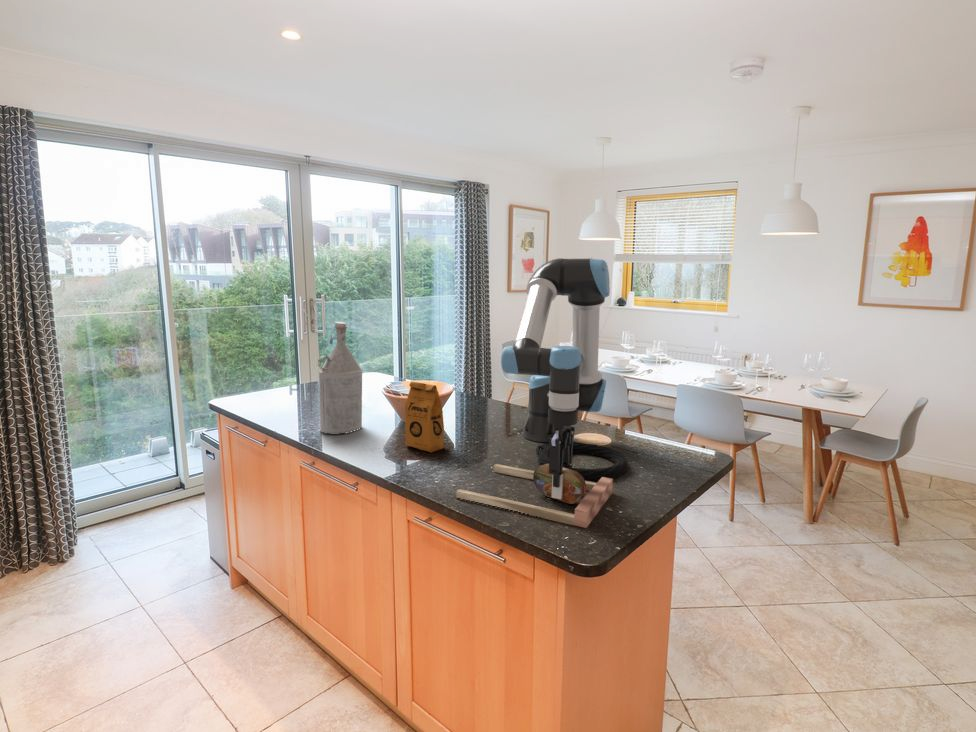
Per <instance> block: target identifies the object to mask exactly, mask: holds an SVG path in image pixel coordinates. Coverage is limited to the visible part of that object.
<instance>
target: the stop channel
mask: <svg viewBox="0 0 976 732" xmlns="http://www.w3.org/2000/svg"><path fill="white" fill-rule="evenodd" d="M534 471H535V470H531V469H525V468H520V467H516V466H510V465H504V464H499V463H496V464H494V465H493V473H499V474H502V475H509V476H512V477H519V478H522V479H527V480H533V475H534ZM585 482H586V491H589V492H588V493H587V494H585V496H584V497H583V498H582V499H581V500H580V501H579V503H578V505H577V506H576V507H575V508H574V513H571V512H566V511H562V510H558V509H557V510H556V509H552V508H547V507H543V506H540V505H539V506H537V505H534V504H529V503H525V502H521V501H516V500H512V499H508V498H507V499H506V498H504V497H502V498H501V497H497V496H493V495H489V494H485V493H479V492H475V491H470V490H467V489H462V488H459V489H457V490H456V497H457V498H461V499H460V500H462V499H466V500H470V501H469V502H471V501H475V502H479V503H484V504H489V505H492V506H497V507H501V508H505V509H509V510H508V511H510V510H513V511H512V512H514V511H518V512H521V513H520V514H523V513H525V514H524V515H527V514H529V515H528V516H532V517H536V516H537V518H540V517H541V519H545V520H550V521H553V522H557V523H563V524H567V525H571V526H577V527H580V528H584V529H587V528H588V527H589V525H590V524H591V523H592V521H593V520H594V519H595V517H596V515H598V513H599V511H601V509H602V508H603V506H604V505H605V503H606V502H607V501H608V499H609V498H610V497H611V496H612V494H613V487H614V486H613V484H614V478H606V477H602V478H601V479H600V480H599V481H597V482H595V481H585ZM457 498H456V499H457ZM466 500H465V501H466ZM475 502H474V503H475ZM479 503H478V504H479ZM484 504H483V505H484ZM492 506H491V507H492ZM497 507H496V508H497ZM501 508H500V509H501ZM505 509H504V510H505ZM518 512H517V513H518Z"/></svg>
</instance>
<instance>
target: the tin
mask: <svg viewBox="0 0 976 732" xmlns="http://www.w3.org/2000/svg"><path fill="white" fill-rule="evenodd" d="M533 471H534V475H533V479H532V480H533V484H534V486H535V488H536V490H537V491H538V492H539V493H540V494H542V495H543V496H545V497H549V498H552V497H551V496H552V474H549V464H544V465H541V466H540V465H539V466H537V467H536V468H535V470H533ZM562 474H563V496H562V499H557V498H552V499H555V500H556V501H560V502H563V503H565V504H570V505H573V504H574V505H575V504H577V503H579V502H581V501H582V500H583V499H584V498H585V497H586V495H587V494H586V493H587V490H586V482H585V480H584V478H583V477H582V476H581V475H580V474H579V473H578V472H576V471H574V470H571V469H567V468H564V467H563V468H562Z"/></svg>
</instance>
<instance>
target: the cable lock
mask: <svg viewBox="0 0 976 732" xmlns="http://www.w3.org/2000/svg"><path fill="white" fill-rule="evenodd" d="M535 451H536V452H535V453H536V455H537V463H538V464H539V466H541V465H544V464H549V444H546V443H543V444H542V443H538V444H537V446H536V449H535ZM578 453H580V454H579V455H582V454H583V455H590V454H593V455H592V456H595V455H596V457H602V458H603V457H604V458H603V459H605V460H608V461H611V462H612V463H614V465H611V466H608V467H599V468H584V467H583V468H582V467H581V468H580V467H579V468H578V467H573V466H572V469H571V470H574V471H576V472H578V473H579V474H580V475H581V476H582V477H583V478H584V480H585V481H589V482H595V481H597V482H598V481H599V480H600V479H601V478H602V477H606V478H611V479H615V478H619V477H620V476H622V475H624V474H625V473H626V472H627V470H628V469H629V468H628V467H629V462H628V461H629V460H628V459H627V458H626V456H625V455H623V454H622V453H620V452H619V451H618V450H615V449H612V448H610V447H608V446H603V445H599V444H592V443H584V442H573V453H572V454H578ZM568 469H569V468H568Z"/></svg>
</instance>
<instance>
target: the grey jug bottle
mask: <svg viewBox="0 0 976 732" xmlns="http://www.w3.org/2000/svg"><path fill="white" fill-rule="evenodd" d="M347 325H348V324H347V323H346V322H345V321H335V322H334V328H333V332H331V333H330V334H331V335H330V339H329V341H328V342H329V344H330V345H333V342H334V341H333V340H335V339H336V344H335V346H334V347H333V349H332V351H331V352H330V354H329V355H321V356H320V357H319V358H318V360H317V366H318V367H319V368H320V369H319V371H318V375H319V376H318V379H319V380H318V385H319V388H318V389H319V423H320V425H319V426H320V430H319V431H320V432H321V433H323V432H324V433H323V434H327V433H331V434H330V435H340V434H339V433H345V434H347V433H346V432H350V433H352V432H351V431H354V430H357V429H359V428H361V429H362V427H363V423H362V422H363V421H362V420H363V417H362V416H363V369H362V368H361V366H360V365H359V363H358V362H357V360H356V359H355V357H354V356H353V354H352V352H351V351H350V350H349V348H348V346H347V344H346V340H347V337H346V334H347V333H346V332H347V329H348V327H347ZM334 330H336V333H335V331H334ZM333 334H334V335H335V337H333ZM323 358H326V360H325V361H324V363H323V364H322V360H323ZM359 430H360V429H359ZM357 431H358V430H357ZM354 432H355V431H354Z"/></svg>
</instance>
